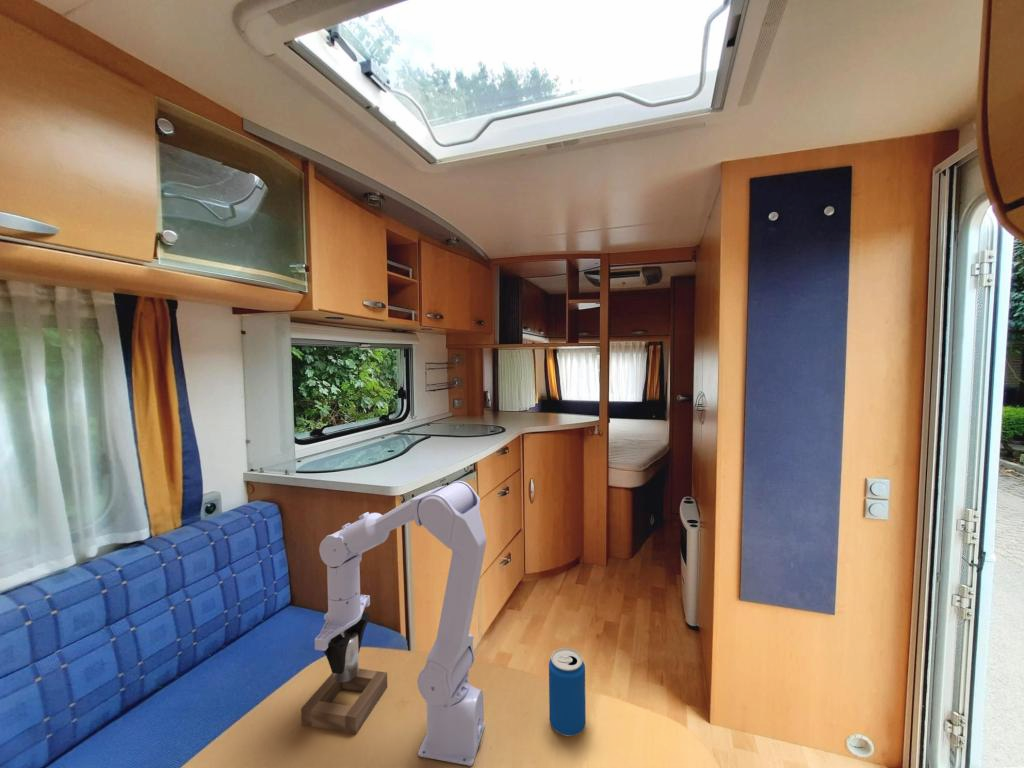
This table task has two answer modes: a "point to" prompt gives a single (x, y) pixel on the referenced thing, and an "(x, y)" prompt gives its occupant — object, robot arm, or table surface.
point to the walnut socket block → (343, 716)
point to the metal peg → (350, 658)
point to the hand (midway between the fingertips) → (345, 662)
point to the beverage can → (567, 692)
